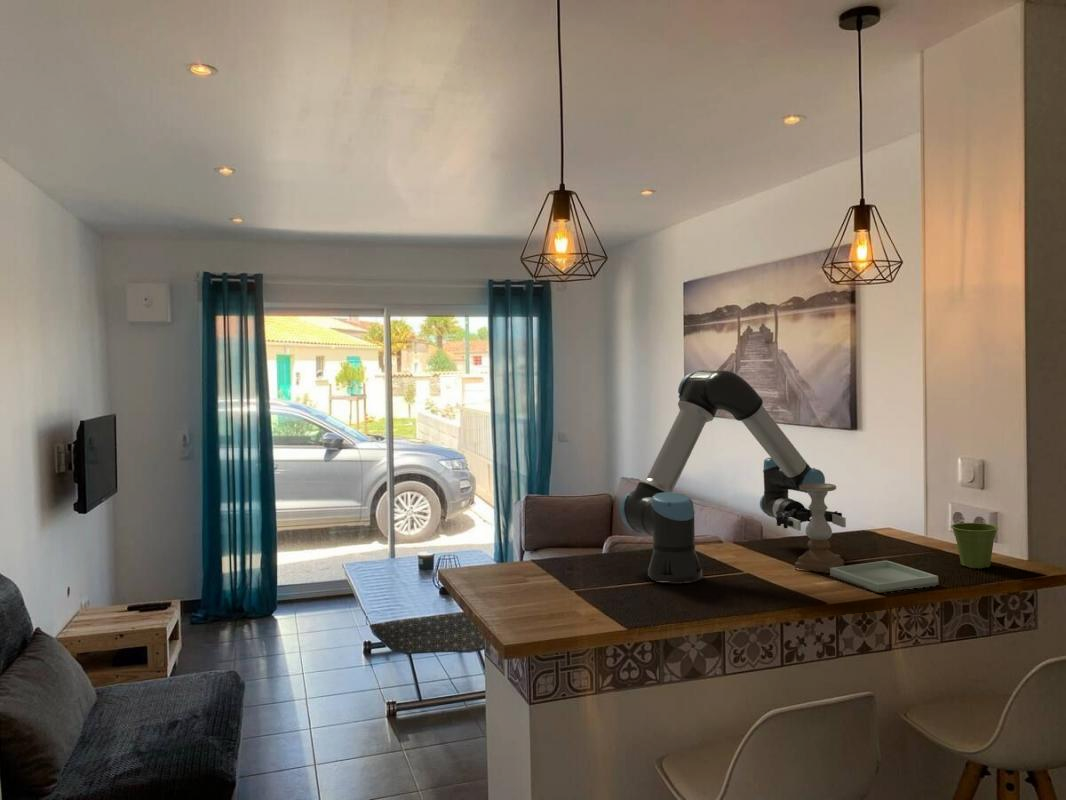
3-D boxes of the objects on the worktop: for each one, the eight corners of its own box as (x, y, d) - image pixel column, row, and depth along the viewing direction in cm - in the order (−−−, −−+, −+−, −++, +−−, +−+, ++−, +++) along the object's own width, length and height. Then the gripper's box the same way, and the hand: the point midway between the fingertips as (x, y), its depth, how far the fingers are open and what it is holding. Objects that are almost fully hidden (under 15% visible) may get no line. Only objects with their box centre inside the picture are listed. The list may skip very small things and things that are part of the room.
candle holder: (832, 574, 232) (830, 489, 231) (794, 569, 239) (791, 487, 237) (844, 565, 241) (842, 483, 239) (807, 561, 247) (805, 481, 246)
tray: (877, 594, 211) (877, 584, 211) (830, 576, 229) (829, 567, 229) (938, 585, 217) (938, 576, 217) (887, 569, 235) (887, 560, 235)
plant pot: (987, 560, 240) (986, 521, 240) (1006, 570, 228) (1006, 530, 228) (944, 561, 241) (944, 522, 241) (961, 571, 229) (961, 531, 229)
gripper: (827, 520, 260) (863, 534, 239) (751, 526, 257) (780, 540, 236) (827, 497, 260) (862, 508, 239) (750, 501, 257) (780, 514, 236)
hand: (822, 524), depth 237 cm, fingers open, 13 cm apart
